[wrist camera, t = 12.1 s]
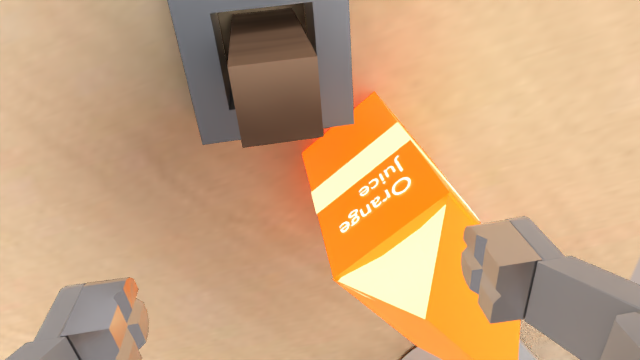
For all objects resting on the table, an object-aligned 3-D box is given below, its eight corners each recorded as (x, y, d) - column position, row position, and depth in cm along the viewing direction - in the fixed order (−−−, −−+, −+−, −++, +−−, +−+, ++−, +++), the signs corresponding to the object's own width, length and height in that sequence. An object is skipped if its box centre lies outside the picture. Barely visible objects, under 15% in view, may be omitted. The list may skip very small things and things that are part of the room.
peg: (232, 14, 30) (227, 66, 20) (291, 7, 30) (317, 56, 20) (242, 72, 32) (242, 147, 22) (298, 66, 32) (323, 136, 22)
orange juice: (375, 89, 34) (508, 265, 17) (435, 161, 38) (590, 360, 21) (299, 153, 36) (351, 370, 19) (364, 215, 40) (454, 438, 23)
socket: (331, -50, 29) (346, -43, 24) (340, 97, 34) (354, 123, 30) (173, -34, 28) (161, -24, 24) (207, 115, 33) (202, 144, 29)
